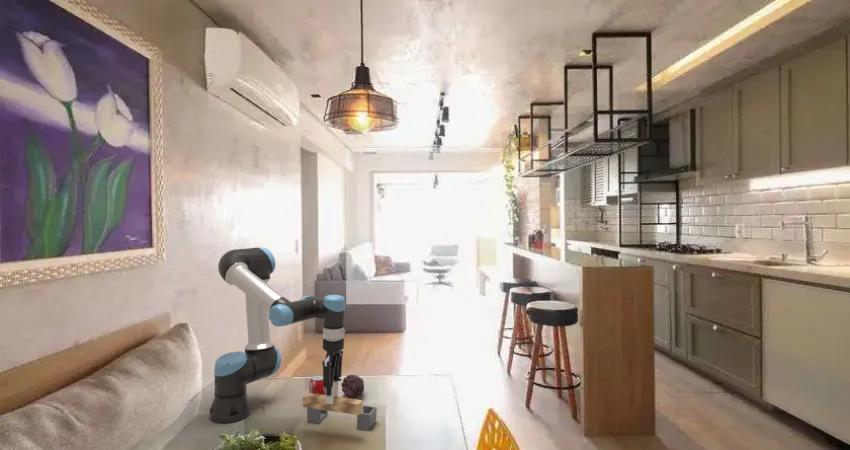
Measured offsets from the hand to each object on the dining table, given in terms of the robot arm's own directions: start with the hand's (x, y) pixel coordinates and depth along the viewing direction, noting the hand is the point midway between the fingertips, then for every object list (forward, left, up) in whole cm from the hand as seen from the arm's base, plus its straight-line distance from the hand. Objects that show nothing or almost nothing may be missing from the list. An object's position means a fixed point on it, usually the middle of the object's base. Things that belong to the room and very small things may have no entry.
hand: (331, 401), depth 175 cm
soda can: (-15, +20, -12) cm, 28 cm away
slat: (0, 0, -3) cm, 3 cm away
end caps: (0, +9, -12) cm, 15 cm away
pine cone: (-4, +31, -12) cm, 34 cm away
